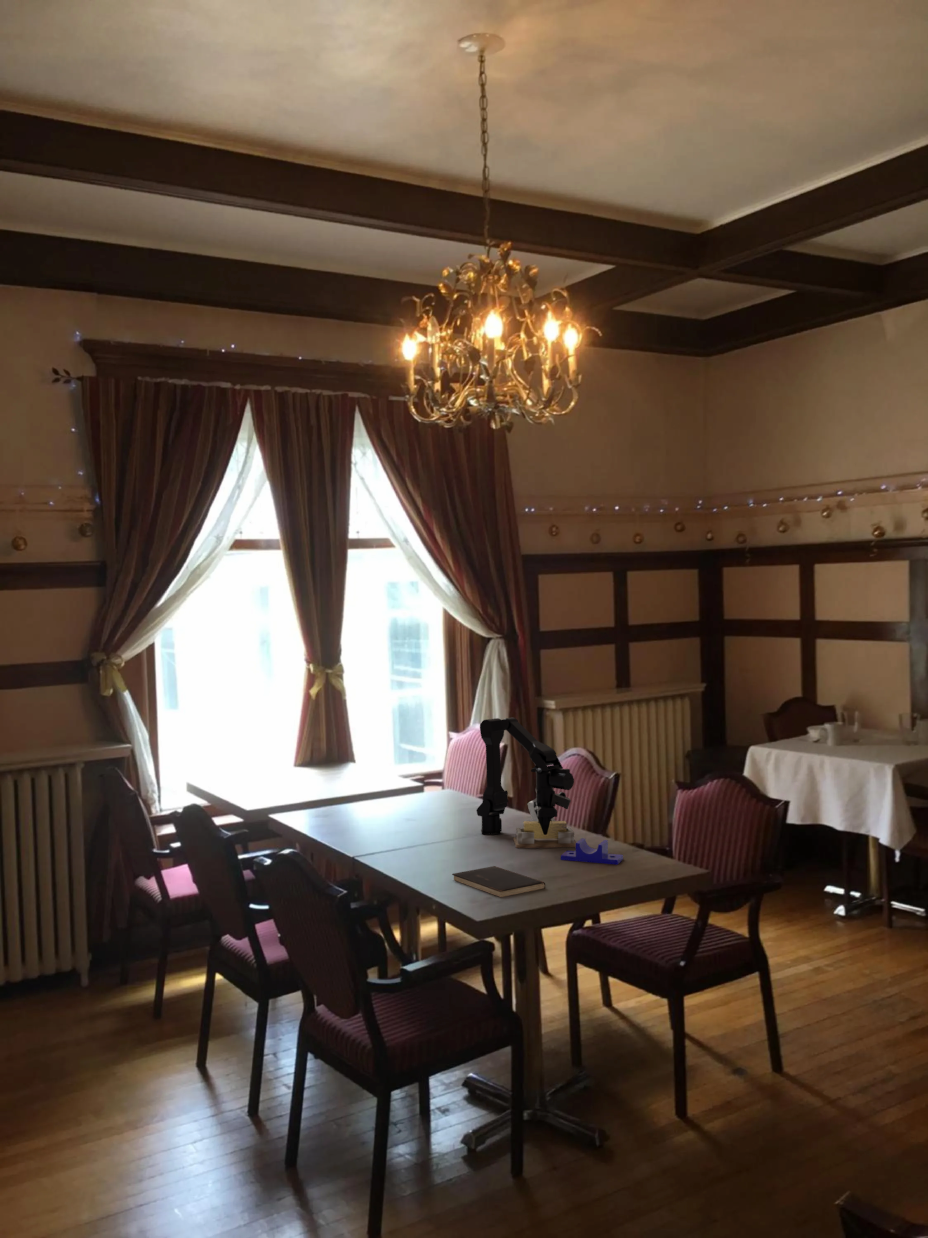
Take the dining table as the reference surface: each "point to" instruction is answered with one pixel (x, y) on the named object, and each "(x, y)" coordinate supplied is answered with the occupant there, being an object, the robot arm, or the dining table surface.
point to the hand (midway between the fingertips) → (544, 833)
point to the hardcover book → (498, 881)
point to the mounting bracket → (592, 854)
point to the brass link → (552, 831)
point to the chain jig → (544, 840)
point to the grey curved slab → (532, 812)
